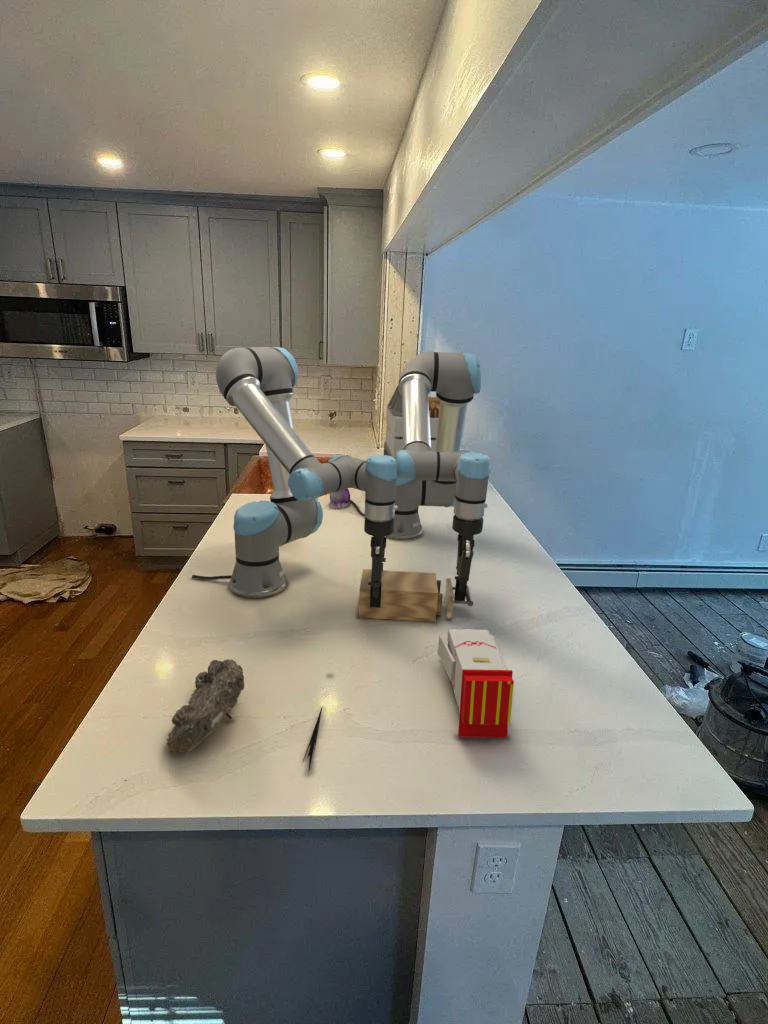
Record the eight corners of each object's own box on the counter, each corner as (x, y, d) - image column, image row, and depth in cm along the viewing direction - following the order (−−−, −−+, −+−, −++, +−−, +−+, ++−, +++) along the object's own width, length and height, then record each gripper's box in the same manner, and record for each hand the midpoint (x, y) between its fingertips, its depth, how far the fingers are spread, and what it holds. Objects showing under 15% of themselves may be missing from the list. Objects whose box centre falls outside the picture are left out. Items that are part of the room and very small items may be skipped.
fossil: (192, 660, 117) (244, 628, 112) (224, 691, 120) (276, 661, 115) (142, 746, 98) (202, 712, 93) (182, 779, 101) (242, 748, 96)
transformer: (382, 463, 289) (386, 382, 275) (445, 464, 293) (451, 384, 279) (390, 482, 257) (394, 392, 243) (460, 483, 261) (468, 394, 247)
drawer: (468, 600, 154) (470, 579, 152) (472, 619, 145) (474, 597, 142) (381, 595, 154) (382, 574, 152) (379, 614, 145) (380, 592, 143)
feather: (331, 679, 122) (336, 673, 122) (307, 777, 96) (313, 769, 95) (324, 675, 122) (329, 669, 121) (298, 772, 95) (304, 764, 95)
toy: (488, 613, 130) (523, 677, 101) (484, 667, 133) (517, 744, 104) (435, 612, 130) (455, 676, 101) (432, 666, 133) (451, 743, 103)
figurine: (333, 510, 219) (334, 473, 214) (323, 502, 227) (324, 466, 222) (355, 507, 223) (356, 471, 218) (345, 500, 232) (346, 464, 227)
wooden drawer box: (433, 600, 155) (435, 573, 152) (435, 622, 145) (438, 592, 142) (361, 596, 155) (362, 569, 153) (358, 617, 145) (359, 588, 142)
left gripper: (393, 536, 130) (389, 619, 138) (395, 503, 153) (391, 576, 160) (361, 534, 130) (358, 617, 138) (367, 501, 153) (365, 574, 160)
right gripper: (487, 526, 134) (476, 613, 142) (480, 508, 147) (471, 589, 155) (455, 524, 134) (446, 611, 142) (451, 506, 147) (443, 587, 155)
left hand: (376, 595), depth 149 cm, fingers closed on wooden drawer box, 11 cm apart
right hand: (459, 600), depth 148 cm, fingers closed
